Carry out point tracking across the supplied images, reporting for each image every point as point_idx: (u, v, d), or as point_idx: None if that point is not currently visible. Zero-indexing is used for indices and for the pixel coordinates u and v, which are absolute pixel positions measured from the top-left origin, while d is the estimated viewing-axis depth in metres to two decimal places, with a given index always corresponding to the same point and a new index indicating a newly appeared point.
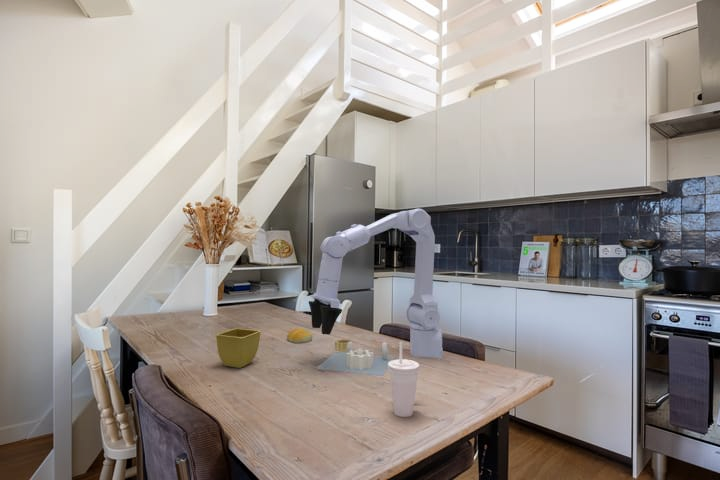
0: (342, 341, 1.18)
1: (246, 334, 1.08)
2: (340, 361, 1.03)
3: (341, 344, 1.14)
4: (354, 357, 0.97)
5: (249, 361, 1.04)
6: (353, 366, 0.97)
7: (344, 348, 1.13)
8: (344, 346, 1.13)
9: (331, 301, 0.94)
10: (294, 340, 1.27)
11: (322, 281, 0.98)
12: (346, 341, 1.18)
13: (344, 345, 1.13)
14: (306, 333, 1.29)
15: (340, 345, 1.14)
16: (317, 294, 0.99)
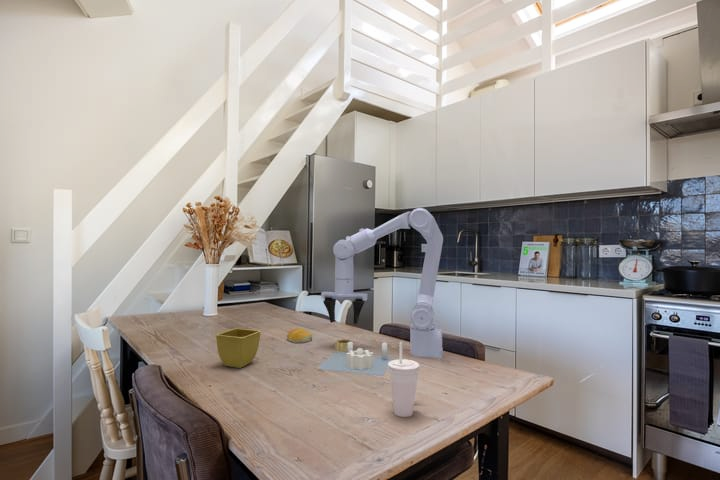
0: (342, 341, 1.18)
1: (246, 334, 1.08)
2: (340, 361, 1.03)
3: (341, 344, 1.14)
4: (354, 357, 0.97)
5: (249, 361, 1.04)
6: (353, 366, 0.97)
7: (344, 348, 1.13)
8: (344, 346, 1.13)
9: (363, 295, 1.13)
10: (294, 340, 1.27)
11: (346, 281, 1.14)
12: (346, 341, 1.18)
13: (344, 345, 1.13)
14: (306, 333, 1.29)
15: (340, 345, 1.14)
16: (342, 293, 1.14)
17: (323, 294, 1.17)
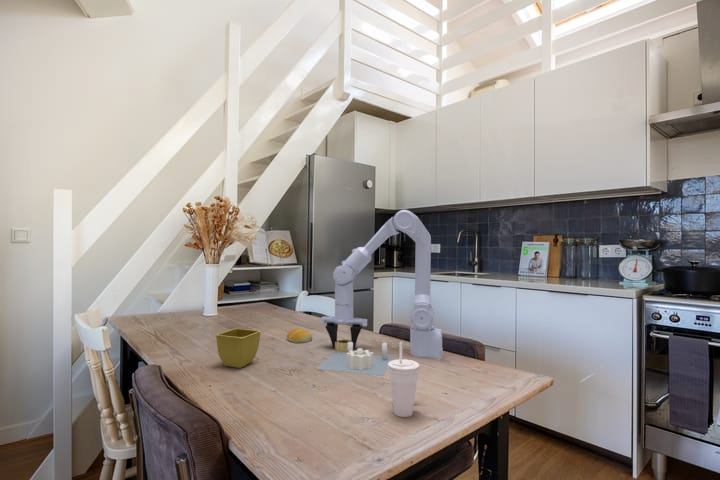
0: (342, 341, 1.18)
1: (246, 334, 1.08)
2: (340, 361, 1.03)
3: (341, 344, 1.14)
4: (354, 357, 0.97)
5: (249, 361, 1.04)
6: (353, 366, 0.97)
7: (344, 348, 1.13)
8: (344, 346, 1.13)
9: (363, 321, 1.13)
10: (294, 340, 1.27)
11: (346, 307, 1.14)
12: (346, 341, 1.18)
13: (344, 345, 1.13)
14: (306, 333, 1.29)
15: (340, 345, 1.14)
16: (342, 319, 1.13)
17: (323, 319, 1.17)
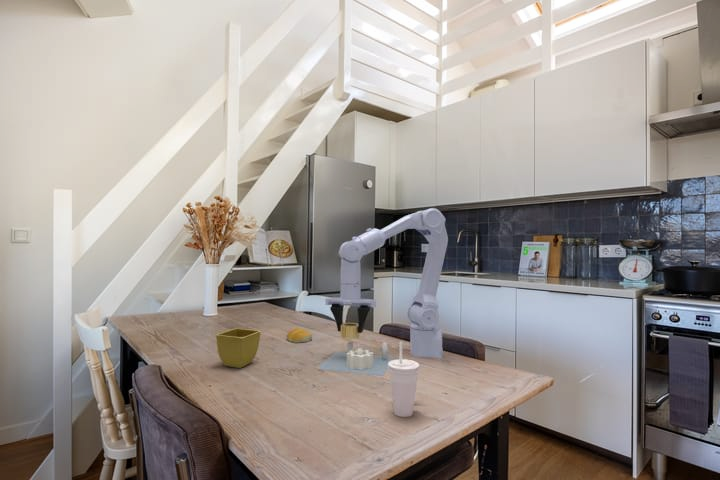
0: (348, 324, 1.08)
1: (246, 334, 1.08)
2: (340, 361, 1.03)
3: (348, 327, 1.04)
4: (354, 357, 0.97)
5: (249, 361, 1.04)
6: (353, 366, 0.97)
7: (351, 331, 1.03)
8: (351, 329, 1.03)
9: (371, 302, 1.03)
10: (294, 340, 1.27)
11: (353, 286, 1.04)
12: (353, 324, 1.08)
13: (351, 328, 1.03)
14: (306, 333, 1.29)
15: (346, 328, 1.04)
16: (349, 299, 1.03)
17: (327, 300, 1.07)
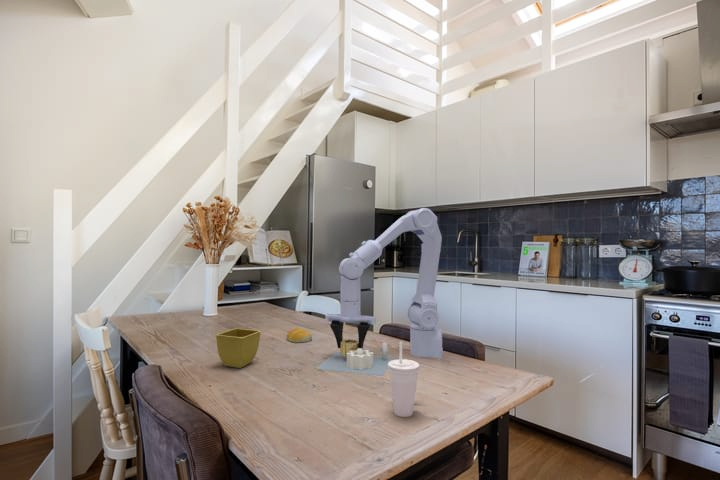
0: (348, 341, 1.08)
1: (246, 334, 1.08)
2: (340, 361, 1.03)
3: (348, 344, 1.04)
4: (354, 357, 0.97)
5: (249, 361, 1.04)
6: (353, 366, 0.97)
7: (351, 349, 1.03)
8: (351, 347, 1.03)
9: (371, 319, 1.03)
10: (294, 340, 1.27)
11: (353, 303, 1.04)
12: (353, 341, 1.08)
13: (351, 345, 1.03)
14: (306, 333, 1.29)
15: (346, 345, 1.04)
16: (349, 316, 1.03)
17: (327, 317, 1.07)
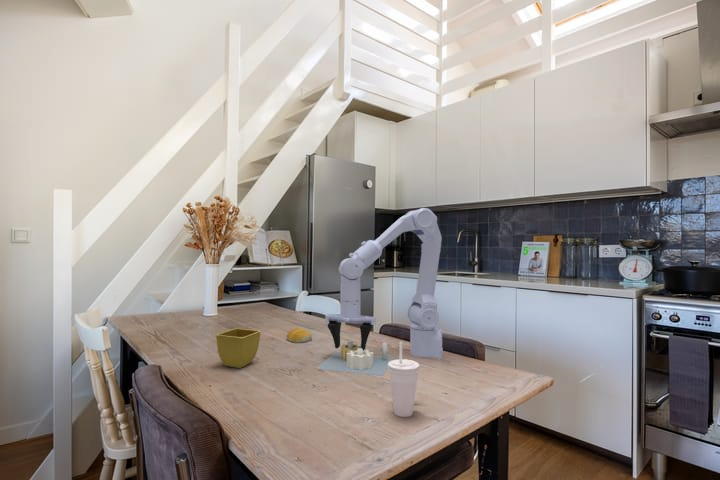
0: None
1: (246, 334, 1.08)
2: (340, 361, 1.03)
3: (348, 349, 1.04)
4: (354, 357, 0.97)
5: (249, 361, 1.04)
6: (353, 366, 0.97)
7: None
8: None
9: (371, 319, 1.03)
10: (294, 340, 1.27)
11: (353, 303, 1.04)
12: (353, 346, 1.08)
13: None
14: (306, 333, 1.29)
15: (347, 350, 1.04)
16: (349, 316, 1.03)
17: (327, 317, 1.07)
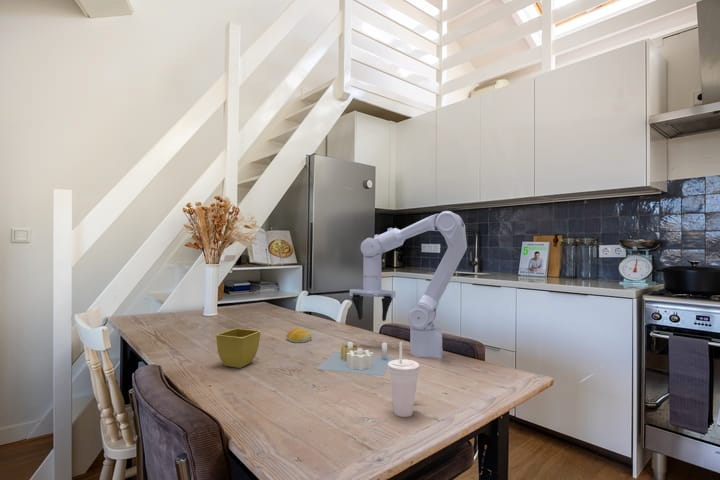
0: None
1: (246, 334, 1.08)
2: (340, 361, 1.03)
3: (348, 349, 1.04)
4: (354, 357, 0.97)
5: (249, 361, 1.04)
6: (353, 366, 0.97)
7: None
8: None
9: (392, 293, 1.15)
10: (294, 340, 1.27)
11: (375, 278, 1.15)
12: (353, 346, 1.08)
13: None
14: (306, 333, 1.29)
15: (347, 350, 1.04)
16: (371, 290, 1.15)
17: (351, 291, 1.19)
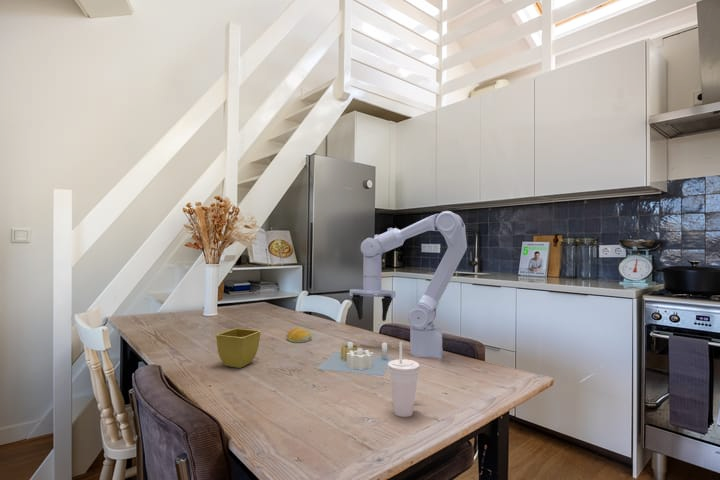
0: None
1: (246, 334, 1.08)
2: (340, 361, 1.03)
3: (348, 349, 1.04)
4: (354, 357, 0.97)
5: (249, 361, 1.04)
6: (353, 366, 0.97)
7: None
8: None
9: (392, 293, 1.15)
10: (294, 340, 1.27)
11: (375, 278, 1.15)
12: (353, 346, 1.08)
13: None
14: (305, 333, 1.29)
15: (347, 350, 1.04)
16: (371, 290, 1.15)
17: (351, 291, 1.19)
